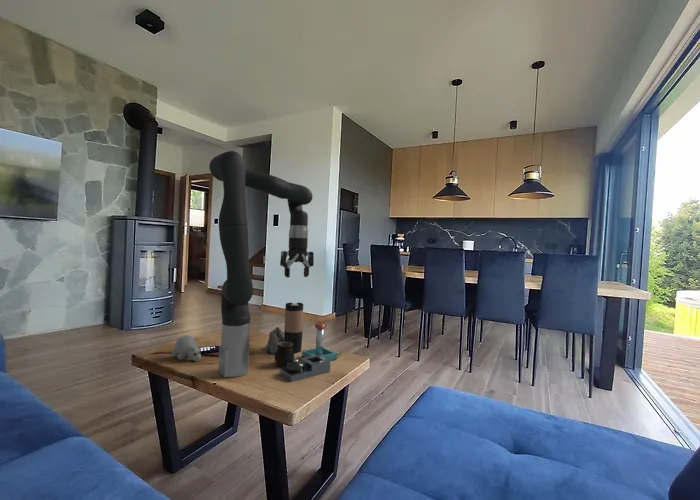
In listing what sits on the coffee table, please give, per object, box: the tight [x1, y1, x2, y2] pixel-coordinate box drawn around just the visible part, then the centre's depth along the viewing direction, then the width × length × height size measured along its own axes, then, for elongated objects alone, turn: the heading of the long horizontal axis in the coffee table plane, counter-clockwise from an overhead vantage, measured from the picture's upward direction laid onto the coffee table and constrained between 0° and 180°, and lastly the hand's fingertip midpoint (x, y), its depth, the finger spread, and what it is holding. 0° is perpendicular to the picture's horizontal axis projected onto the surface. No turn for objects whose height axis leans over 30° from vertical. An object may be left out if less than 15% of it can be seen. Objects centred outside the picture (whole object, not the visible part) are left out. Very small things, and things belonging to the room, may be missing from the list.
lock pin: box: [314, 322, 327, 356], centre depth 135 cm, size 4×4×13 cm
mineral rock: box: [266, 326, 284, 355], centre depth 144 cm, size 13×11×10 cm
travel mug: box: [283, 302, 304, 354], centre depth 143 cm, size 8×8×20 cm
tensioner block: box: [278, 355, 331, 383], centre depth 119 cm, size 16×8×5 cm, turn 130°
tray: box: [301, 346, 338, 362], centre depth 135 cm, size 10×10×2 cm
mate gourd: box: [274, 341, 295, 368], centre depth 126 cm, size 7×8×10 cm
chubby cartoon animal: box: [171, 335, 202, 362], centre depth 128 cm, size 7×12×8 cm, turn 65°
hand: (296, 277), depth 137 cm, fingers open, 8 cm apart
